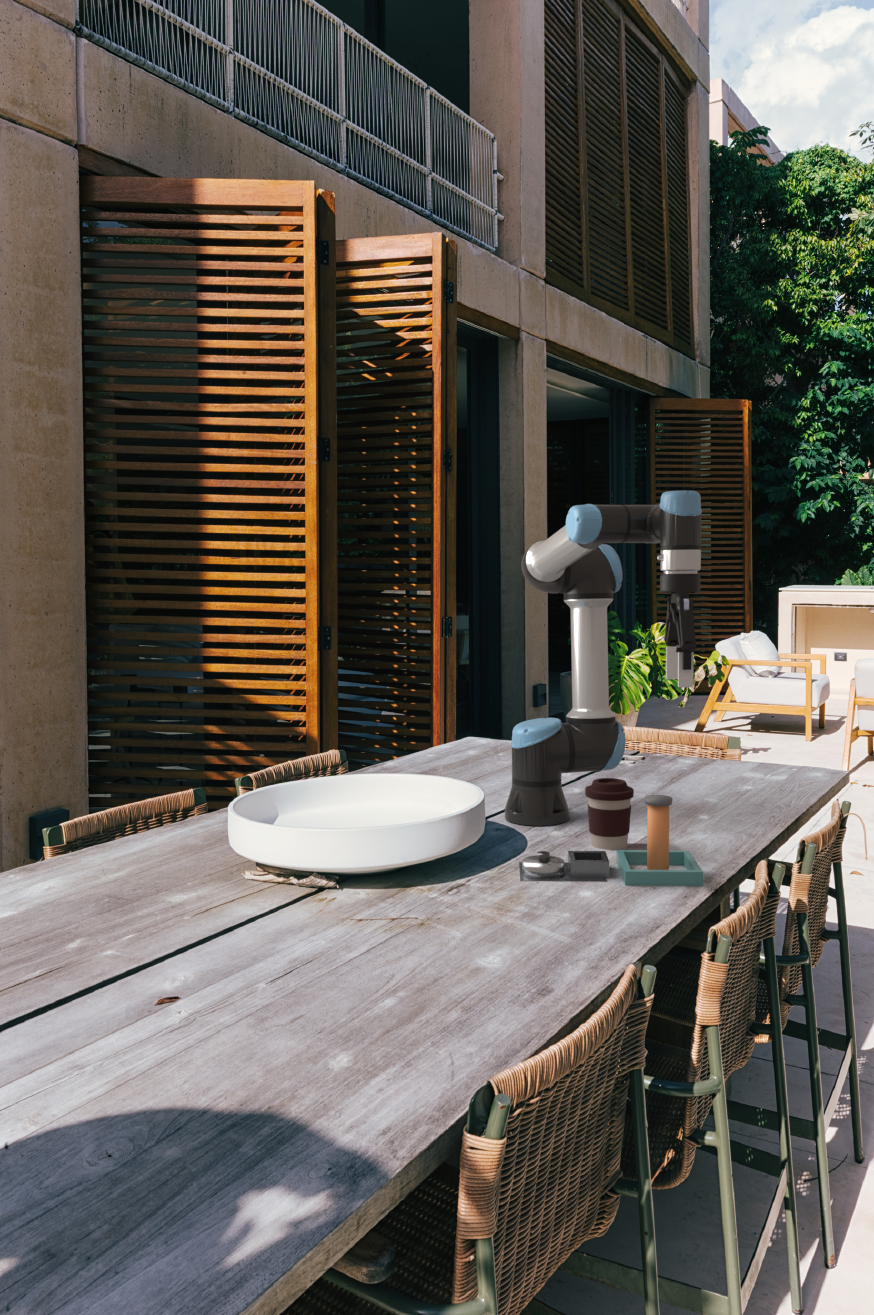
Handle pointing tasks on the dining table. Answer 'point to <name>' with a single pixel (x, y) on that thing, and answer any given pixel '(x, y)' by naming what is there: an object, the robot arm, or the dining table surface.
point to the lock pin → (658, 831)
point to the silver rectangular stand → (566, 867)
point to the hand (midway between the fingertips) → (679, 683)
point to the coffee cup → (609, 812)
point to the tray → (659, 877)
